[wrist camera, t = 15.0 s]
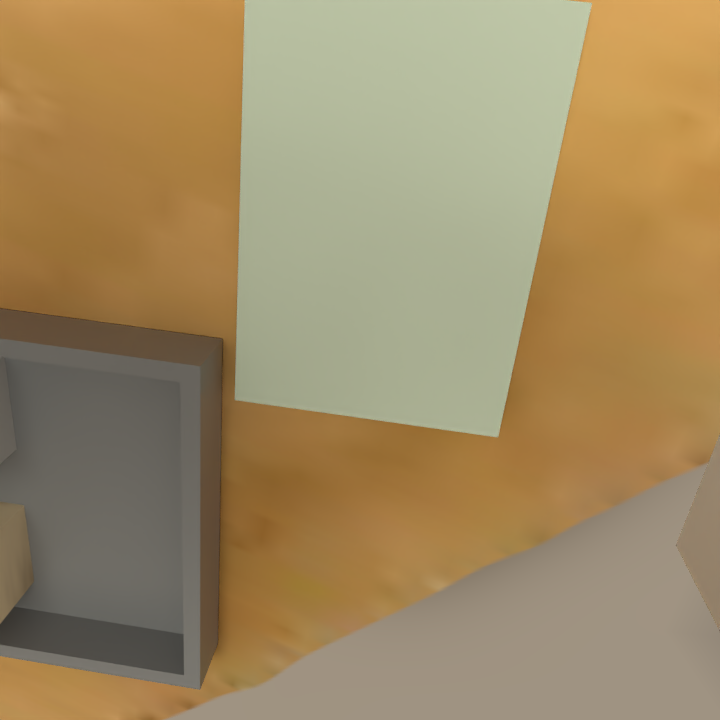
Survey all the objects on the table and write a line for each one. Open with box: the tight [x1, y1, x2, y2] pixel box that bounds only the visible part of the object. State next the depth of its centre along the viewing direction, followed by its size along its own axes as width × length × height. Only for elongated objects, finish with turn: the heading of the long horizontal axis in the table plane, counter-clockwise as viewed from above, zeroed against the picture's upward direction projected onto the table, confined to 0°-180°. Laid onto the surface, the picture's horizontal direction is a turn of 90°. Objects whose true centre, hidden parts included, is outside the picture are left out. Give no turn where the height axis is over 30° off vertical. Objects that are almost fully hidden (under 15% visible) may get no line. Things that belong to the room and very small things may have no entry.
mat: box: [235, 0, 592, 437], centre depth 31 cm, size 14×20×1 cm
